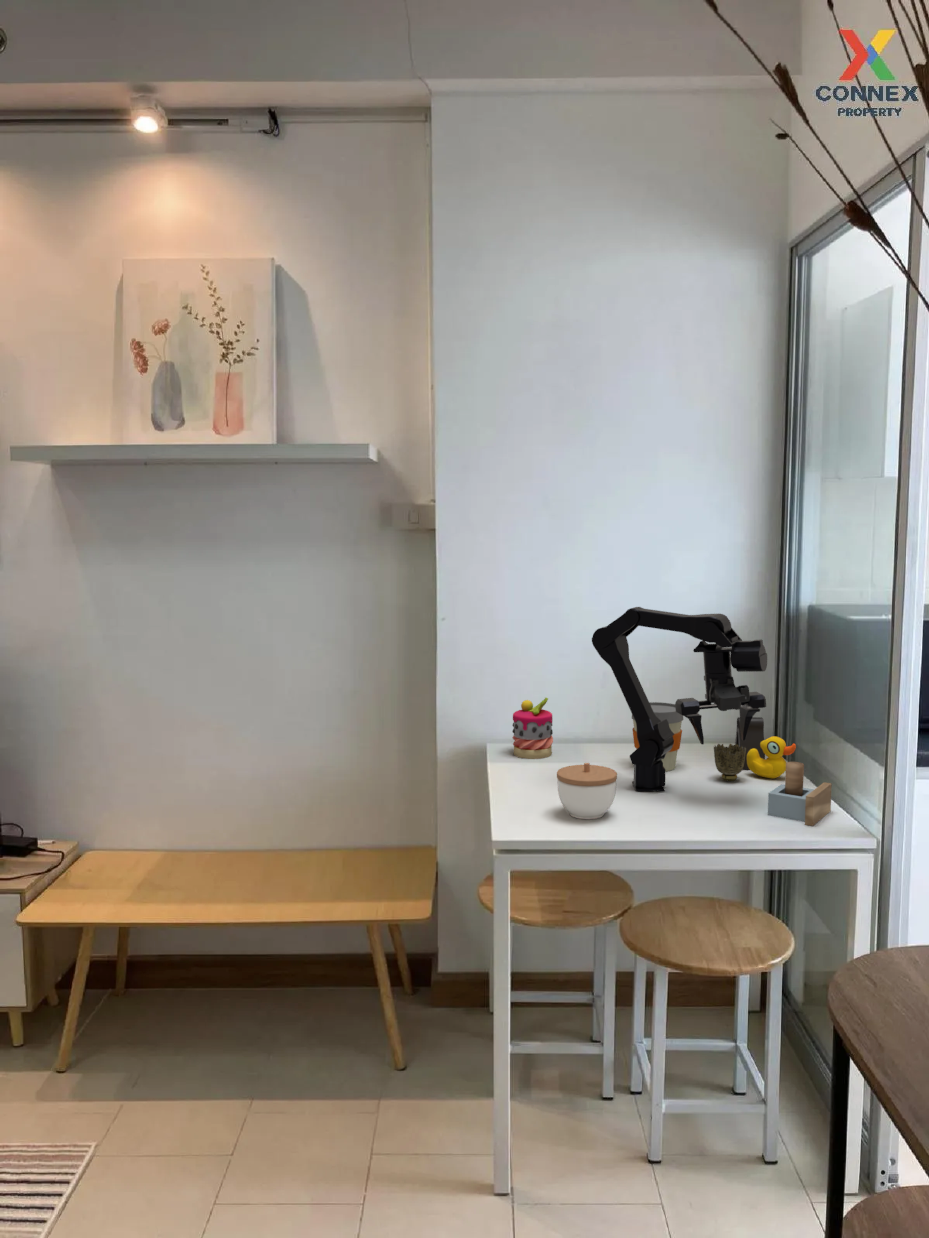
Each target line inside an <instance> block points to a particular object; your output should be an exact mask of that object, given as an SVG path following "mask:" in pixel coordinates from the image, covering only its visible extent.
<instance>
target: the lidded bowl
mask: <svg viewBox="0 0 929 1238" xmlns="http://www.w3.org/2000/svg"><path fill="white" fill-rule="evenodd" d="M556 778H557V791H558V797H559V798H558V799H559V801H560V803H561V805H562V806H563V807H564V809H565V810H566V811H567V812H568V814H569V816H571V817H572V818H575V819H579V820H597V819H600V818H602V817H604V814H605V813H607V811H609V809H611V807H612V805H613V804H614V800H615V798H616V791H617V780H618V774H617V771H616V770H615V769H613V768H610V767H607V766H603V765H595V764H590V762H584V763H583V764H574V765H568V766H564V767H561V768H559V769H558V770H557V772H556Z"/></svg>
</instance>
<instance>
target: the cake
mask: <svg viewBox="0 0 929 1238" xmlns="http://www.w3.org/2000/svg"><path fill="white" fill-rule="evenodd" d="M548 700H549V698H548V697H544V699H543V700H541V701H540V702H539V703H537V705H535V706H534V704H533V702H532V701H531V700H529V699H525V700H523V701H522V702H521V704H520V709H519V710H516V711H514V712H513V713H512V721H513V723H512V727H513V729H512V733H513V735H512V740H514V741H513V743H512V745H513V755H514V756H515V757H517V758H519V759H526V760H539V759H540V760H541V759H546V758H547V759H548V758H549V757H552V755H553V752H552V747H553V746H552V745H553V743H554V737H553V733H554V732H553V729H552V727H553V713H552V711H551V712H550V711H549V710H546V709H543V707H544V706H545V705H546V704H547V703H548Z"/></svg>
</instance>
